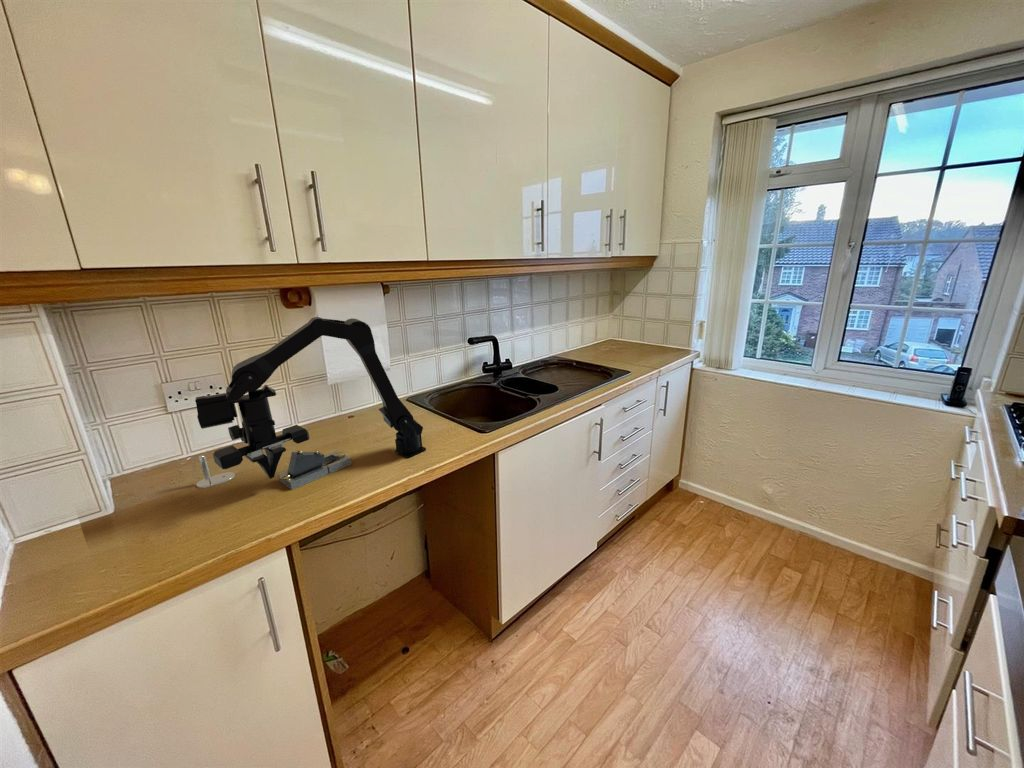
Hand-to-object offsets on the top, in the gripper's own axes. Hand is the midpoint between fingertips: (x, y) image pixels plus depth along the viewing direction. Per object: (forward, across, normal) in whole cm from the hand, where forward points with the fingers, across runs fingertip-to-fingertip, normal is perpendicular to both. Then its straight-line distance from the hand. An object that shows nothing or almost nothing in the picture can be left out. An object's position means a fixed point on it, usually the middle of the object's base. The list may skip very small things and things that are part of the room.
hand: (271, 477), depth 98 cm
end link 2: (+3, -15, 0) cm, 16 cm away
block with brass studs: (+2, -7, 0) cm, 8 cm away
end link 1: (+3, -7, 0) cm, 8 cm away
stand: (+4, +7, -17) cm, 19 cm away
